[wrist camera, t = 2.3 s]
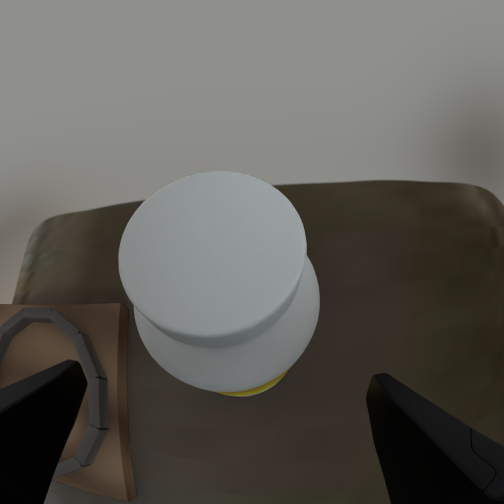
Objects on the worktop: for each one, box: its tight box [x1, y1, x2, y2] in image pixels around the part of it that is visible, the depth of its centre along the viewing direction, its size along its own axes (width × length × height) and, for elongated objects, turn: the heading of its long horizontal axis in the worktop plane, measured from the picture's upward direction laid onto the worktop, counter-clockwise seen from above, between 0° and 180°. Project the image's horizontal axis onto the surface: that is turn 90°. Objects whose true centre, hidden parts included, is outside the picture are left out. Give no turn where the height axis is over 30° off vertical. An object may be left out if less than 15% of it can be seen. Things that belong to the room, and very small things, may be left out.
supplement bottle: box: [118, 171, 320, 396], centre depth 12 cm, size 7×7×13 cm
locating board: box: [0, 303, 137, 502], centre depth 14 cm, size 14×14×3 cm
